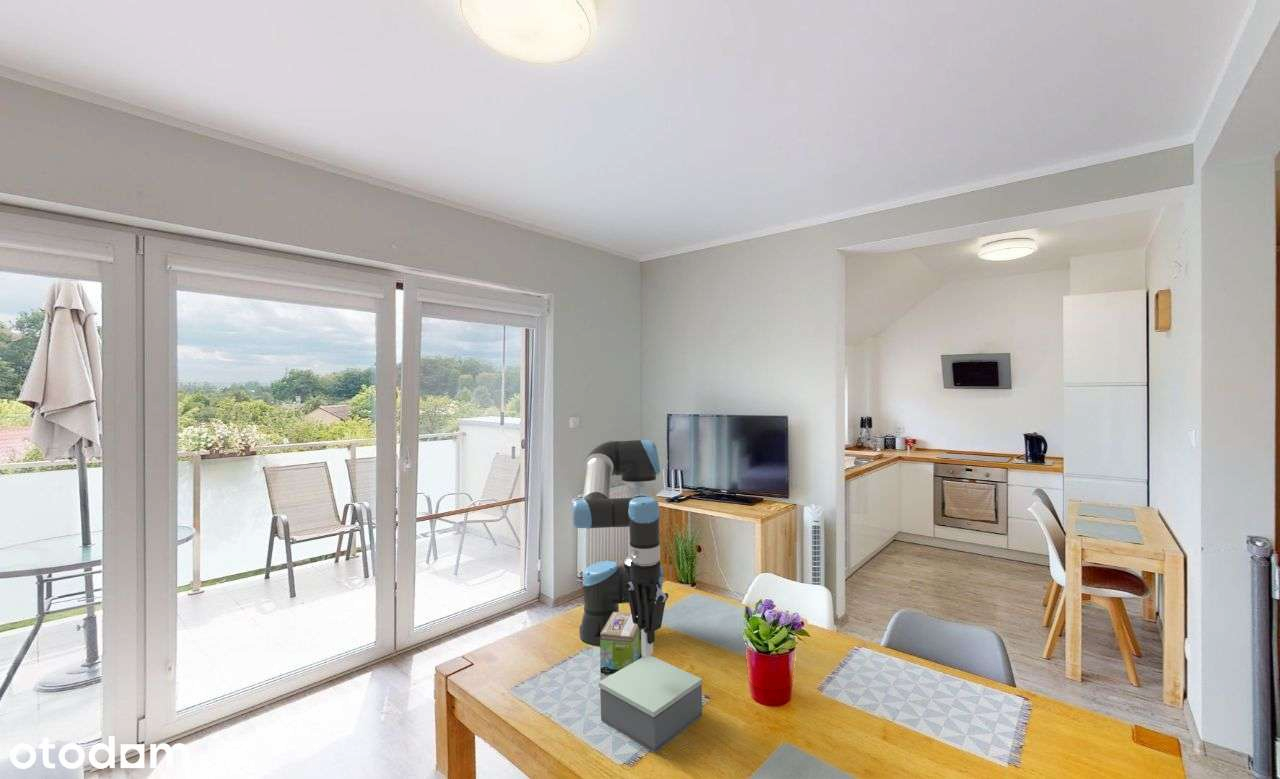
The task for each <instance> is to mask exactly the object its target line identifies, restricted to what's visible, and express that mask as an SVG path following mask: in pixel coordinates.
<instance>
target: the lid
mask: <svg viewBox="0 0 1280 779" xmlns="http://www.w3.org/2000/svg"><path fill="white" fill-rule="evenodd" d="M597 684H598V688H600V689H603V690H605V691H607V692H609V693H610V694H612V695H614V696H616V697H618V698H619V699H621V700H623V701H625V702H627V703H628V704H630V705H632V706H634V707H636V708H637V709H639V710H641V711H643V712H645V713H646V714H648V715H650V716H652V717H655V716H657V715H658V714H660V713H661V712H662V711H664V710H665V709H667V708H668V707H670V706H671V705H672V704H674V703H675V702H677V701H678V700H680V699H681V698H682V697H684V696H685V695H687V694H688V693H690V692H691V691H692V690H694V689H695V688H697V687H698V686H700V685H701V684H702V685H703V678H701V677H700V676H697V675H694V674H692V673H690V672H687V671H685V670H683V669H681V668H679V667H677V666H674V665H672V664H670V663H667V662H666V661H664V660H661V659H659V658H657V657H654V656H652V655H649V656H648V657H642V658H641V659H639V660H637V661H635V662H633V663H632V664H630V665H628V666H626V667H624V668H623V669H621V670H619V671H617V672H616V673H614V674H612V675H610V676H608V677H607V678H605V679H603V680H601V681H598V683H597Z"/></svg>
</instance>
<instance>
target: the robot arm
mask: <svg viewBox="0 0 1280 779" xmlns="http://www.w3.org/2000/svg"><path fill="white" fill-rule="evenodd" d="M659 460H660V459H659V454H658V449H657V445H656V443H655V441H653V440H648V439H636V440H635V439H634V440H609V441H606V442H603V443H601V444H599V445H597V446H596V447H594V448H593V449H592V450H591V451H590V452H589V453H588V455H587V456H586V458H585V460H584V464H583V470H584V473H585V479H584V488H583V494H582V498H581V499H576V500H574V502H573V505H572V520H573V526H574V527H575V528H577V529H588V530H590V529H599V528H600V529H601V528H602V529H603V528H627V548H628V549H627V550H628V551H627V557H626V558H625V559H624V560H623V566H619V565H618V563H617V562H616V561H612V560H602V561H598V562H595V563H592V564H590V565H589V566H587V567H586V568H585V570H584V571H583V578H582V579H583V580H582V586H583V616H582V619H581V624H580V626H579V630H578V632H579V634H578V635H579V639H580V640H581V641H582V642H584V643H585V644H586V643H587V644H589V645H594V646H600V633H601V632H602V630H603V628H604V627H605V625H606V623H607V622H608V620H609V618H610V616H611V615H612V613H613V612H620V610H619V606H620V604H622V605H623V604H628V605H629V610H630V613H631V615H632V620H633V623H634V624H637V625H638V627H639V635H640V640H641V650H642V656H644V657H648V656H649V655H650V656H652V655H653V654H654V643H655V641H656V639H655V634H656V633H655V632H656V631H658V630H659V629H661V628H662V623H663V618H664V612H665V606H666V602H667V600H668V598H669V593H667V592H665V593H664V592H663V584H664V583H663V582H664V581H663V580H664V575H663V574H664V567H663V565H661V561H660V559H661V542H660V515H661V514H660V508H659V500H658V499H656V498H654V497H653V486H652V485H653V484H654V483H655V482H656V480H657V476H658V475H660V474H661V467H660V466H661V465H660V461H659ZM611 476H612V477H613V476H616V477H617V476H621V482H622V483H623V484H625V486H626V497H620V498H619V497H618V498H613V497H612V498H611V496H610V495H611V494H610V493H611ZM636 616H638V617H636Z"/></svg>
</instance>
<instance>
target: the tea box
mask: <svg viewBox="0 0 1280 779" xmlns="http://www.w3.org/2000/svg"><path fill="white" fill-rule="evenodd" d="M636 617H638V616H636ZM599 646H600V649H599V650H600V652H599V656H600V658H599V662H600V664H599V665H600V666H599V668H600V670H599V671H600V676H599V677H600V678H599V679H600V681H601V680H603V679H605V678H607V677H608V676H610V675H612V674H614V673H616V672H617V671H619V670H621V669H623V668H624V667H626V666H628V665H630V664H632V663H633V662H635V661H637V660H639V659H641V658H642V657H644V656H642V650H641V640H640V635H639V627H638V625H637V624H634V623H633V620H632V615H631V612H620V611H619V612H613V613H612V615H611V616H610V618H609V620H608V622H607V623H606V625H605V627H604V628H603V630H602V632H601V633H600V645H599Z"/></svg>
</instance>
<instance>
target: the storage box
mask: <svg viewBox="0 0 1280 779" xmlns="http://www.w3.org/2000/svg"><path fill="white" fill-rule="evenodd" d="M702 686H703V683H702V684H701V685H700V686H698V687H697V688H695V689H694V690H692V691H691V692H690V693H688V694H687V695H685V696H684V697H682V698H681V699H680V700H678V701H677V702H675V703H674V704H672V705H671V706H670V707H668V708H667V709H665V710H664V711H662V712H661V713H660V714H658V715H657V716H655V717H652V716H650V715H648V714H646V713H645V712H643V711H641V710H639V709H637V708H636V707H634V706H632V705H630V704H628V703H627V702H625V701H623V700H621V699H619V698H618V697H616V696H614V695H612V694H610V693H609V692H607V691H605V690H603V689H601V688H600V690H599V691H600V698H599V699H600V721H601V722H603V723H605V724H606V725H608V726H609V727H611V728H612V727H613V729H614V730H616V731H618V732H619V733H621V734H622V735H623V736H625V737H627V738H629V739H630V740H632V741H633V742H635V743H636V744H639V745H640V746H641V747H643V748H645V749H646V748H647V750H648V751H649V752H651V753H652V754H657V753H658V752H659V751H660V750H662V749H663V748H664V747H666V745H668V744H670V742H672V741H673V740H675V738H676V737H678V736H679V735H680V734H681V733H682V732H684V731H685V730H686V729H688V728H689V727H690V726H691V725H693V724H694V723H695V722H697V721H698V720H699V719H700V718H701V717H703V694H702V693H703V692H702V690H703V688H702Z"/></svg>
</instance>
